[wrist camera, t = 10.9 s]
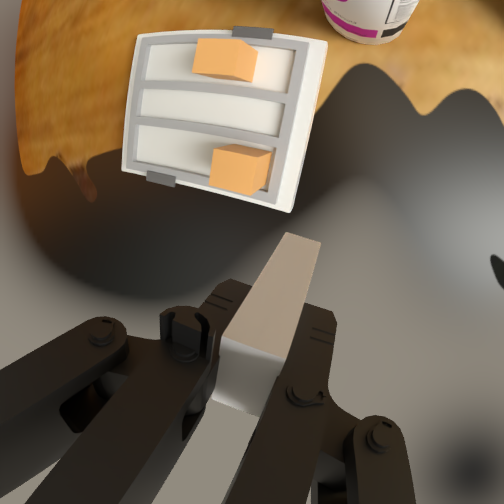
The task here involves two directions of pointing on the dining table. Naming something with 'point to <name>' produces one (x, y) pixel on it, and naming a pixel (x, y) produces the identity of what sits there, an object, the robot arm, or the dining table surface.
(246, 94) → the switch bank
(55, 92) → the dining table surface
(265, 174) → the tab
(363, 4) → the supplement can
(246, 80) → the orange block
